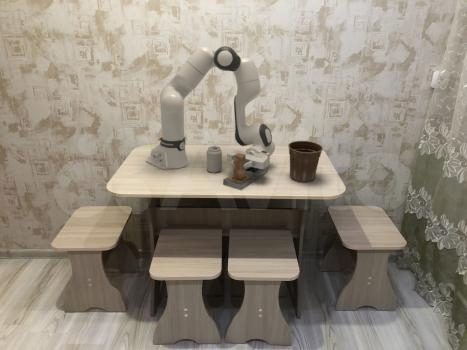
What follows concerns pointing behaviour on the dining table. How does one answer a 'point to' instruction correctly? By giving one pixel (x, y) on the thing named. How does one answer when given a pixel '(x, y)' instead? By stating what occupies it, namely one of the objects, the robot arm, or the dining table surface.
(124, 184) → the dining table surface
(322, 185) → the dining table surface
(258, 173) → the metal plate
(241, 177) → the walnut peg
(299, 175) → the plant pot
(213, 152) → the can
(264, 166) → the robot arm
